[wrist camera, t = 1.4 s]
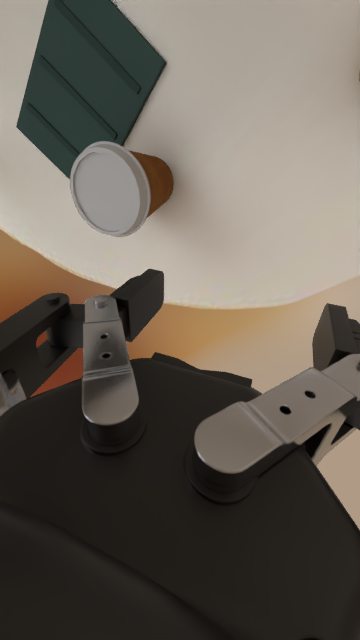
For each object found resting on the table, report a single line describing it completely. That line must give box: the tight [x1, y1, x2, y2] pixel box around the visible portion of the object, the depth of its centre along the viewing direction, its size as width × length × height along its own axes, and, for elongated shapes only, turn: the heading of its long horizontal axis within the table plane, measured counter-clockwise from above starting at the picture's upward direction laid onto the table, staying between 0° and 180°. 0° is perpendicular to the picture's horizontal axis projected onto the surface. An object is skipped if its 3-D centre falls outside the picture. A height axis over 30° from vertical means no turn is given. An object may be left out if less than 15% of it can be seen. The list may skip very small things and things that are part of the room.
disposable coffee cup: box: [70, 141, 173, 237], centre depth 34 cm, size 10×10×12 cm
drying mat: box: [16, 0, 166, 179], centre depth 36 cm, size 15×20×1 cm
